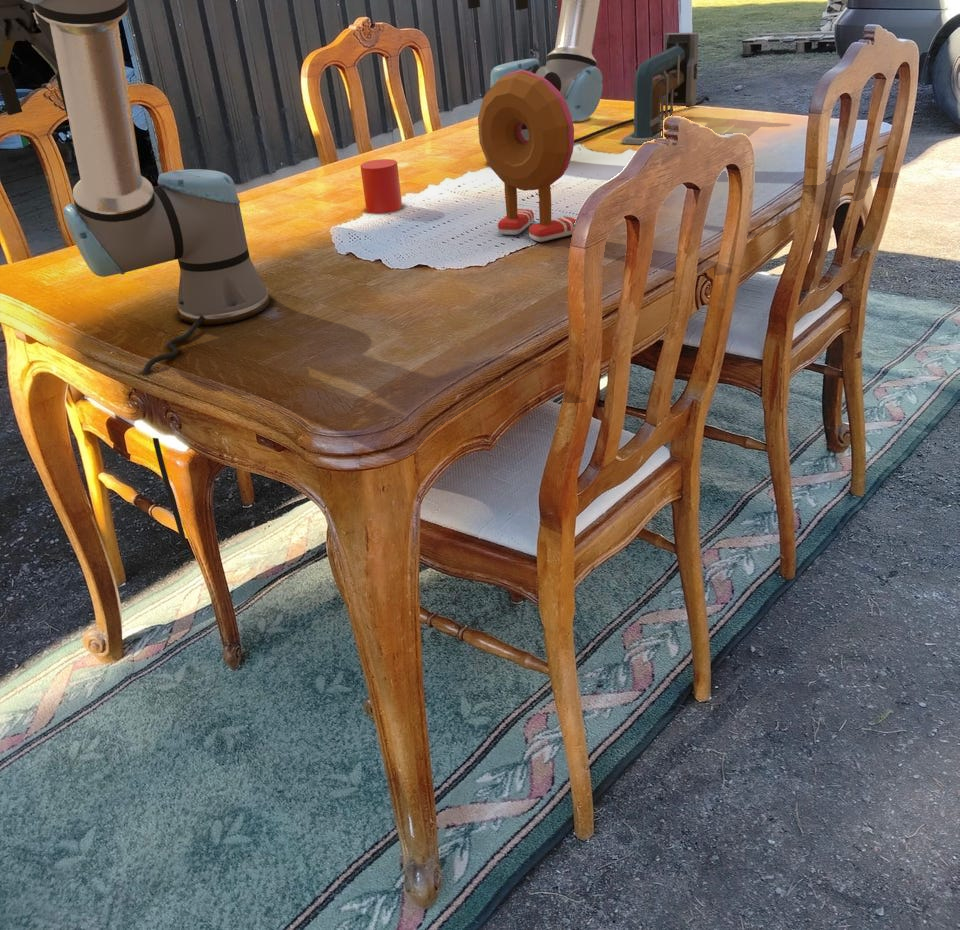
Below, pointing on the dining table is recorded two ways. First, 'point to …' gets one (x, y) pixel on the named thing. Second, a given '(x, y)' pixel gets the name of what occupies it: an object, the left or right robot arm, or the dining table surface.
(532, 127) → the toy
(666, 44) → the clamp
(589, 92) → the right robot arm
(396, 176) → the can
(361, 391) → the dining table surface
